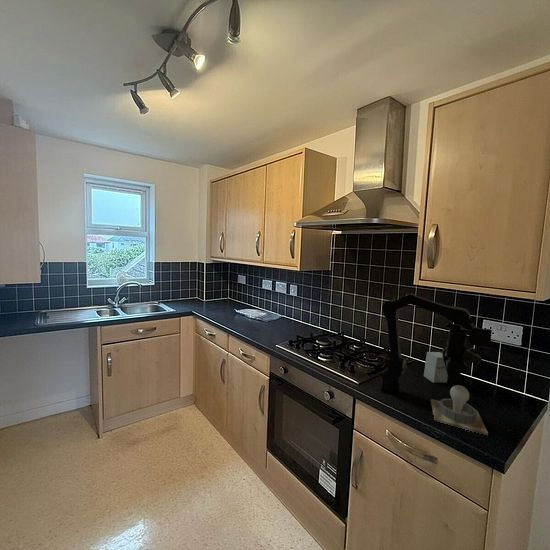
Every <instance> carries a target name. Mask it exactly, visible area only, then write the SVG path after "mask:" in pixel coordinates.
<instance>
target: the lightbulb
mask: <svg viewBox="0 0 550 550" xmlns="http://www.w3.org/2000/svg"><path fill="white" fill-rule="evenodd" d="M449 395H450V397H451V398H450V399H452V400H453V411H454V412H457V413H461V410H462V408H463V405H464V404H465V403H466V404H467V401H469V399H470V392H469V390H468V389H467V388H466V387H465V386H463V385H459V384H458V385H452V387H451V388H450V390H449Z"/></svg>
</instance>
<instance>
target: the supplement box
mask: <svg viewBox="0 0 550 550" xmlns="http://www.w3.org/2000/svg"><path fill="white" fill-rule="evenodd" d="M442 355H443V354H442V351H441V352H440V351H437V352H436V351H427V352H426V358H425V365H424V372H423V377H424V378H426V379H427V380H429V381H430V382H431V383H432V384H433V383H448V378H449V377H448V375H447V371H446V367H445V363H444V359H443V356H442Z"/></svg>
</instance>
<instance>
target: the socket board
mask: <svg viewBox="0 0 550 550" xmlns="http://www.w3.org/2000/svg"><path fill="white" fill-rule="evenodd" d="M430 406H431V410H432V415H434V417H433V421H434V420H435V421H437V422H440V423H444V424H448V425H451V426H455V427H458V428H462V429H465V430H464V431H466V430H469V431H468V432H470V431H472V432H471V433H474V432H476V433H475V434H477V433H479V434H478V435H481V434H484V435H483V436H485V435H487V436H486V437H488V436H489V432H488V430H487V427H486V426H485V424H484V421H483V420H482V416H481V415H480V414H479V411H478V409H475V408H474V407H473V406H472V405H470V404H469V403H467V402H466V403H465V404H464V405H463V408H462V410H461V413H457V412H454V411H453V400H452V398H442V399H440V400H437V399H432V398H431V399H430ZM451 426H450V427H451ZM455 427H454V428H455ZM458 428H457V429H458ZM462 429H461V430H462Z"/></svg>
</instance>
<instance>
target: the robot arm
mask: <svg viewBox="0 0 550 550" xmlns="http://www.w3.org/2000/svg"><path fill="white" fill-rule="evenodd" d="M408 305H412V306H414V307H415V306H416V308H417V307H418V308H420V309H424V310H427V311H429V312H431V313H434V314H438V315H440V316H441V317H444V318H445V319H446V320H448V321H449V322H448V323H445V324H444V328H446V329H449V331H448V338H447V341H446V344H447V345H446V346H445V347H444V348H442V351H441V353H442V354H443V355H442V356H443V359H444V363H445V367H446V371H447V375H448V377H447V378H448V380H449V385H452V386H455V384H456V381H457V379H458V377H459V376H460V375H461V374H465V373H468V365H467V363H466V362H465V361H468V362H471V363H472V364H473V365H475V366H476V367H477V366H479V364H480V363H481V362H482V360H483V357H481V355H480V354H479V353H477V352H478V351H477V349H475V348H474V347H470V348H468V347H467V346H466V344H467V341H468V342H469V343H470V345H472V346H476V347H480V348H485V349H491V342H492V332H493V330H492V329H490V328H482V327H476V326H475V324H474V323H473V322H472V320H471V313H470V312H469V310H468V309H466V308H464V307H459V306H453V305H447V304H443V303H440V302H436V301H433V300H431V299H428V298H425V297H422V296H419V295H416V294H414V293H408V294H406V295H405V296H402V297H400V298H398V299H389V300H387V301H385V302H383V304H382V307H381V308H382V313H383V316H384V318H385V320H386V322H387V323H386V325H387V335H388V347H389V358H388V363H387V367H386V368H385V369H384V371H383V372H382V373H381V378H382V379H381V381H382V382H381V388H380V392H381V393H384V394H389V395H392V396H393V395H394V396H398V393H399V390H400V383H401V382H400V380H399V379H400V377H401V376H402V375H403V374H404V373H405V371H406V369H407V367H408V365H407V357H403V355H402V352H401V340H400V330H399V319H400V315H401V314H400V313H401V308H403V307H405V306H408ZM468 333H469V335H468ZM467 337H468V340H467Z"/></svg>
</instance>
